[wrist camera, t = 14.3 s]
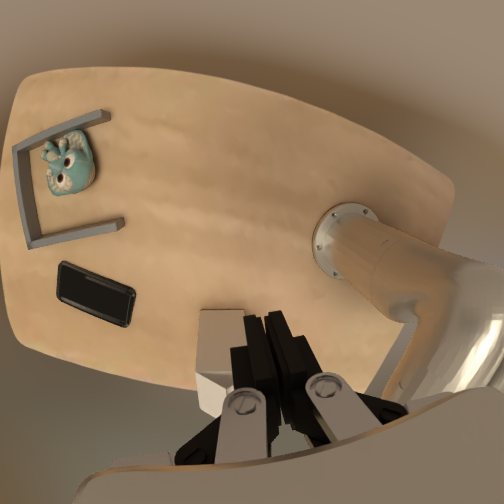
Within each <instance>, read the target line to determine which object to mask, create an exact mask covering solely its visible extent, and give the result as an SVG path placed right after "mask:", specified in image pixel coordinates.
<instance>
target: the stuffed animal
mask: <svg viewBox="0 0 504 504" xmlns="http://www.w3.org/2000/svg"><path fill="white" fill-rule="evenodd" d="M66 147H67V149H68V151H67V152H66ZM44 148H45V149H46V150H49V152H47V151H46V150H42V152H41V153H40V157H41V158H42V159H44V160H46V161H48V162H49V168H48V169H47V170H46V174H47V181H48V186H49V189H50V190H51V192H52V194H53V195H56V196H60V195H66V194H71V193H72V194H76V193H78V192H79V191H82V190H84V189H85V188H86V187H88V186H89V185H90V184H91V183H92V181H93V180H94V177H95V166H94V162H93V155H92V151H91V149H90V148H89V145H88V141H87V138H86V137H85V135H84V134H83V132H82V131H80V130H73V131H71V132H69V133H67V134H65V135H64V136H63V139H61V140H60V141H59V148H57V147H55V146H54V144H53V143H52V142H51V141H46V143H45V144H44Z"/></svg>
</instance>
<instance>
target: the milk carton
mask: <svg viewBox="0 0 504 504" xmlns="http://www.w3.org/2000/svg"><path fill="white" fill-rule="evenodd" d="M243 316H245V313H244V310H200V318H199V330H198V341H197V354H196V368H195V376H196V383H197V391H198V397H199V404H200V409H202V410H203V411H205V412H206V413H208V414H210V415H211V416H213V417H214V418H217V417H218V416H220V415H221V414H222V407H223V402H224V399H225V397H226V396H227V395H228V394H229V393H231V392H232V391H234V387H233V377H232V366H231V356H230V348H232V347H239V346H246V345H247V341H246V334H245V328H244V321H243Z"/></svg>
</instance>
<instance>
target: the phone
mask: <svg viewBox="0 0 504 504" xmlns="http://www.w3.org/2000/svg"><path fill="white" fill-rule="evenodd" d="M56 296H57V298H58V299H59V300H60V301H61V302H64V303H66V304H68V305H70V306H72V307H74V308H77V309H79V310H81V311H83V312H86V313H88V314H90V315H93V316H95V317H98V318H100V319H102V320H105V321H107V322H110V323H112V324H115V325H118V326H120V327H123V328H126V327H128V326H129V324H130V321H131V316H132V311H133V307H134V302H135V298H136V292H135V290H134V289H133V288H131V287H128V286H126V285H123V284H120V283H118V282H115V281H113V280H111V279H108V278H105V277H102V276H100V275H97V274H95V273H93V272H90V271H88V270H85V269H83V268H81V267H78V266H76V265H74V264H71V263H69V262H67V261H62V262H61V263H60V264H59V266H58V275H57V289H56Z"/></svg>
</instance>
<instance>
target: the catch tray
mask: <svg viewBox="0 0 504 504" xmlns="http://www.w3.org/2000/svg"><path fill="white" fill-rule="evenodd" d="M110 120H111V119H110V113H109V112H107V111H104V110H102V109H100V110H97V111H94V112H91V113H88V114H85V115H82V116H79V117H77V118H74V119H71V120H69V121H66V122H64V123H61V124H59V125H56V126H54V127H52V128H49V129H47V130H45V131H43V132H40V133H38V134H36V135H34V136H32V137H30V138H28V139H26V140H24V141H22V142H20V143H18V144H16V145H14V146H12V154H13V167H14V177H15V185H16V192H17V199H18V205H19V211H20V216H21V221H22V226H23V230H24V235H25V239H26V243H27V247H28V250H30V249H34V248H39V247H43V246H48V245H52V244H56V243H61V242H66V241H70V240H75V239H80V238H85V237H90V236H95V235H100V234H105V233H110V232H115V231H118V230H120V229H121V228H122V227H124V226H125V223H124V218H120V219H115V220H110V221H106V222H101V223H96V224H91V225H87V226H82V227H78V228H73V229H69V230H65V231H61V232H57V233H52V234H48V235H44V236H42V234H41V230H40V225H39V220H38V215H37V210H36V205H35V199H34V193H33V186H32V178H31V169H30V159H29V151H30V150H32V149H34V148H37V147H39V146H41V145H44V144H45V143H46V141H53V140H56V139H58V138H61V137H63V136H64V135H65V134H67V133H69V132H71V131H73V130H82V129H85V128H88V127H91V126H94V125H97V124H100V123H104V122H107V121H110Z"/></svg>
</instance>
